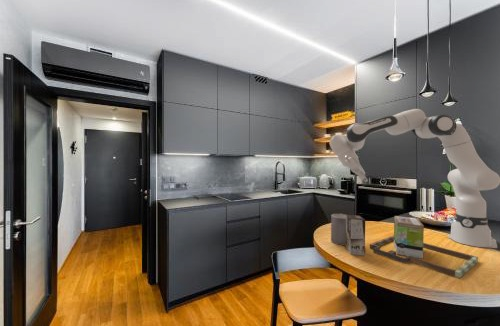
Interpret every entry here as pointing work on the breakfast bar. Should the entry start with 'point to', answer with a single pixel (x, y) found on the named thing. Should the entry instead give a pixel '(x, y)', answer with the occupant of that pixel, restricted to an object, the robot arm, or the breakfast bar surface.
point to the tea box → (408, 236)
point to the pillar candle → (338, 229)
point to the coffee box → (355, 234)
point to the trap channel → (455, 273)
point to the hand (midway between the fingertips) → (364, 180)
